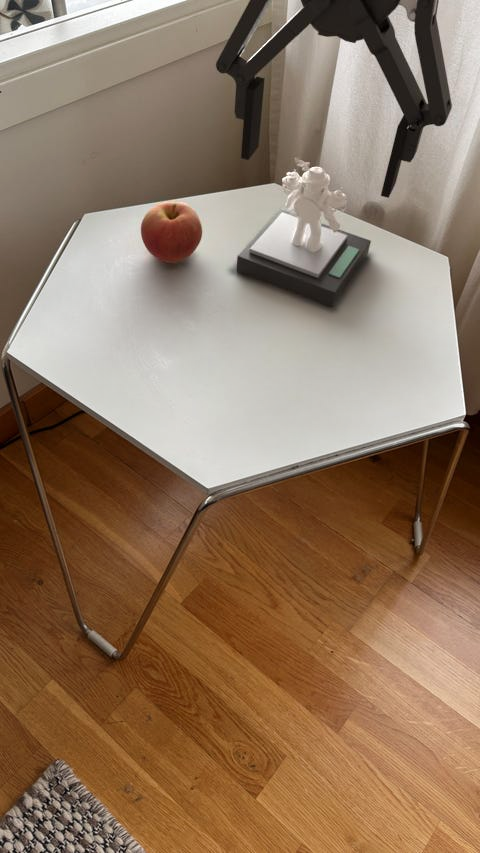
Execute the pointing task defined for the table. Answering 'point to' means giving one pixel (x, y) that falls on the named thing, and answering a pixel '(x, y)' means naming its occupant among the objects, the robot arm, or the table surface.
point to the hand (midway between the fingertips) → (317, 171)
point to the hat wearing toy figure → (312, 203)
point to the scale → (303, 259)
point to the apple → (171, 231)
